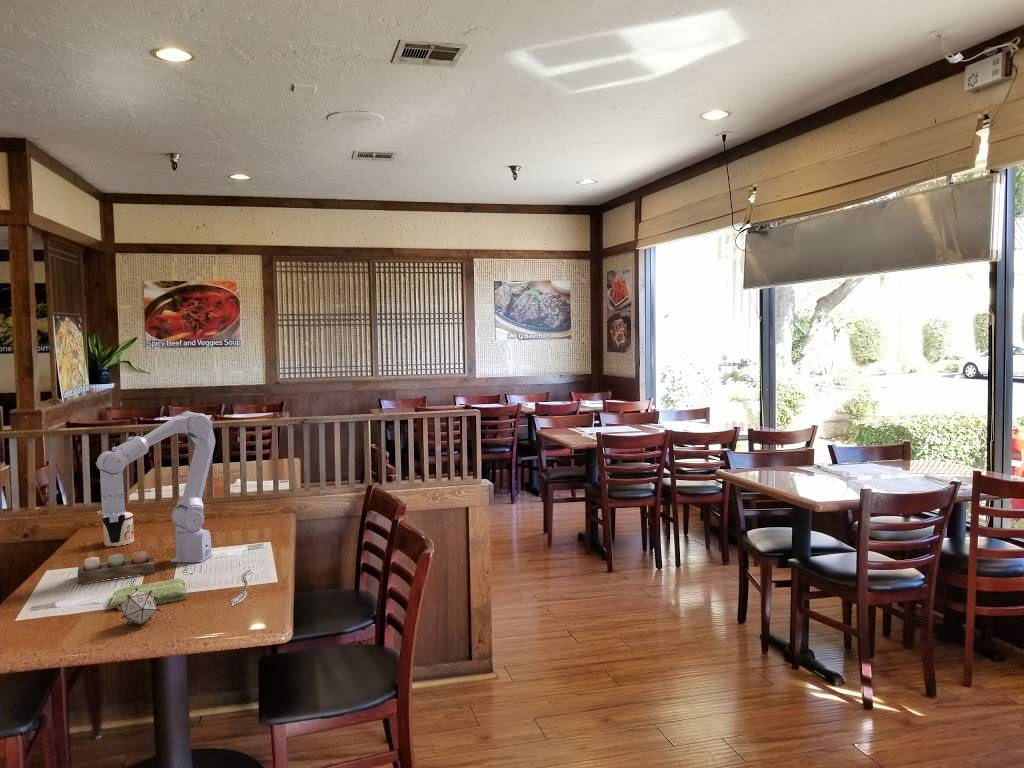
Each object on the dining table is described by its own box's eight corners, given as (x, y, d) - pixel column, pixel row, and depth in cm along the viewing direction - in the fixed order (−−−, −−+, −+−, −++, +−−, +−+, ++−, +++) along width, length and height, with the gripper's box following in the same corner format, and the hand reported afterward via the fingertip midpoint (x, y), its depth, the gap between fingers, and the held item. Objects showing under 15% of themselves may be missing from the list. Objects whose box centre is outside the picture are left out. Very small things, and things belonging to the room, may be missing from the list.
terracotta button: (146, 558, 227) (146, 550, 227) (147, 562, 224) (146, 553, 224) (132, 560, 226) (132, 552, 225) (133, 563, 222) (132, 555, 222)
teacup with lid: (130, 546, 252) (128, 510, 251) (99, 548, 250) (97, 511, 249) (140, 536, 264) (138, 501, 263) (110, 538, 262) (108, 503, 261)
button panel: (153, 566, 230) (152, 556, 230) (154, 573, 223) (154, 563, 223) (79, 576, 222) (78, 565, 221) (78, 584, 214) (77, 573, 214)
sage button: (123, 561, 224) (122, 553, 224) (123, 565, 221) (123, 556, 221) (109, 563, 223) (108, 555, 223) (109, 567, 220) (108, 558, 219)
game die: (135, 637, 186) (129, 597, 191) (169, 623, 187) (162, 584, 191) (114, 632, 178) (108, 590, 183) (149, 617, 179) (142, 576, 183)
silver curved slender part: (228, 608, 195) (249, 606, 196) (228, 606, 195) (249, 604, 196) (237, 570, 226) (255, 569, 227) (237, 568, 226) (255, 567, 227)
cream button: (99, 565, 222) (99, 556, 222) (99, 568, 219) (99, 559, 218) (85, 567, 220) (84, 558, 220) (84, 570, 217) (84, 561, 217)
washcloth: (111, 597, 205) (111, 585, 204) (185, 587, 212) (184, 575, 212) (110, 614, 193) (109, 601, 193) (188, 602, 201) (187, 590, 200)
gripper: (96, 491, 225) (99, 538, 226) (96, 501, 212) (98, 550, 213) (124, 488, 228) (126, 534, 229) (125, 498, 216) (127, 546, 217)
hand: (115, 542), depth 222 cm, fingers closed
